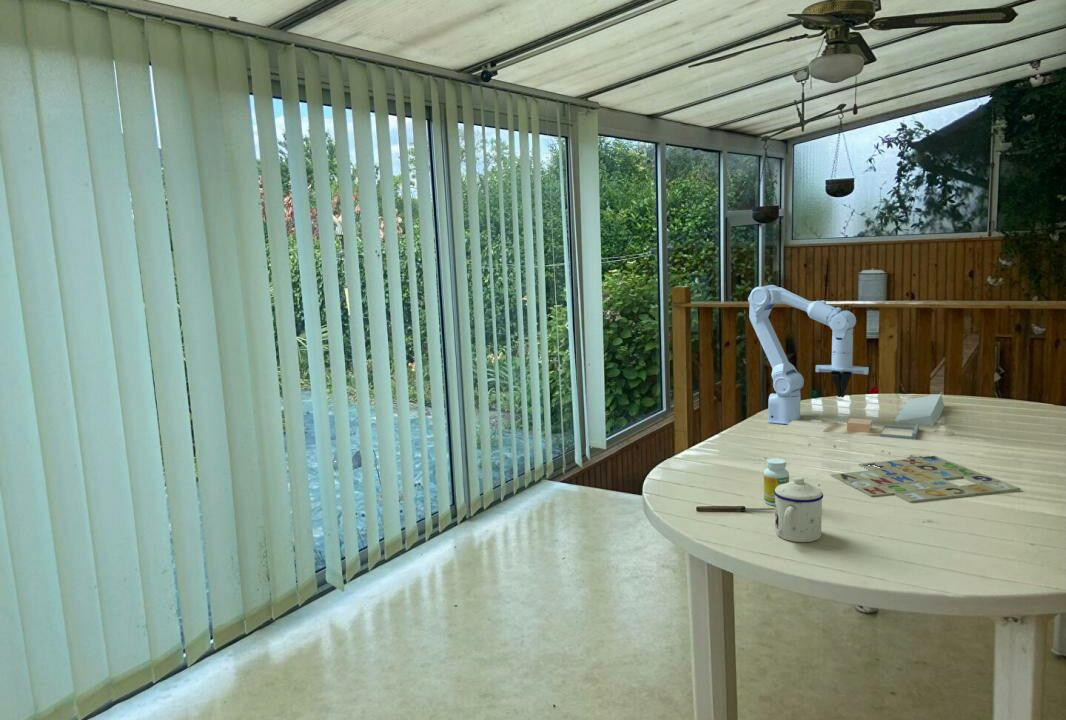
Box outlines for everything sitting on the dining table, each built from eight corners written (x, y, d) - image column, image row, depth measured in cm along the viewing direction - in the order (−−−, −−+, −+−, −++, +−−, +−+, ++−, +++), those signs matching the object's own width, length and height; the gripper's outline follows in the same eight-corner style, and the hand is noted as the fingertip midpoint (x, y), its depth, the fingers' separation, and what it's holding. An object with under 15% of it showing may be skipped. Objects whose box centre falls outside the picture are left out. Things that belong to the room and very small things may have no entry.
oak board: (823, 436, 217) (823, 431, 217) (830, 427, 227) (830, 422, 227) (879, 441, 209) (879, 436, 209) (884, 431, 220) (884, 426, 219)
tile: (846, 430, 216) (847, 422, 216) (850, 426, 221) (850, 418, 221) (869, 432, 213) (869, 424, 213) (872, 428, 218) (872, 419, 218)
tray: (879, 441, 209) (879, 430, 209) (884, 431, 220) (884, 421, 219) (915, 444, 205) (915, 433, 204) (918, 434, 215) (919, 423, 214)
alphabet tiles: (934, 459, 193) (934, 454, 193) (1021, 493, 166) (1021, 487, 166) (817, 471, 188) (817, 466, 187) (887, 508, 161) (887, 502, 160)
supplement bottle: (773, 496, 169) (774, 455, 168) (794, 502, 165) (794, 460, 163) (758, 502, 166) (758, 460, 164) (778, 508, 162) (779, 465, 160)
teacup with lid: (782, 522, 153) (782, 468, 152) (827, 531, 148) (829, 474, 146) (762, 542, 144) (762, 485, 142) (810, 552, 139) (811, 492, 137)
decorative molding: (898, 436, 224) (934, 431, 218) (894, 421, 224) (930, 415, 218) (912, 413, 252) (944, 407, 247) (908, 399, 252) (941, 393, 247)
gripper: (813, 352, 222) (813, 397, 224) (866, 354, 214) (865, 401, 216) (818, 349, 228) (817, 393, 230) (870, 351, 220) (868, 396, 222)
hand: (841, 396), depth 223 cm, fingers closed
